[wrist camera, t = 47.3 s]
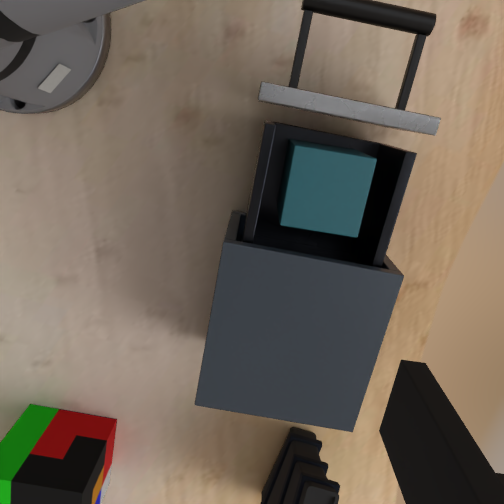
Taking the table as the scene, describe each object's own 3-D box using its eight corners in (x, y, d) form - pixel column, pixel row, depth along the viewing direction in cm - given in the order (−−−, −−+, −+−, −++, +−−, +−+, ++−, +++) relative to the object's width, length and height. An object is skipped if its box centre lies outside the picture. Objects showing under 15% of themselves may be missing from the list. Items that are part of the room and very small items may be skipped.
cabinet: (232, 210, 41) (223, 241, 31) (371, 236, 42) (404, 275, 32) (208, 342, 46) (194, 405, 36) (333, 364, 46) (352, 432, 37)
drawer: (276, 2, 35) (281, -29, 27) (426, 34, 35) (474, 13, 27) (233, 235, 41) (227, 266, 33) (361, 259, 42) (384, 295, 34)
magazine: (249, 522, 52) (268, 613, 37) (280, 414, 54) (311, 460, 39) (278, 530, 52) (309, 624, 37) (308, 422, 54) (349, 471, 39)
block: (276, 205, 39) (279, 225, 32) (288, 138, 37) (294, 145, 30) (341, 215, 39) (357, 238, 32) (356, 149, 37) (377, 158, 30)
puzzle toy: (109, 484, 53) (75, 567, 43) (27, 470, 52) (-25, 551, 43) (116, 419, 49) (82, 493, 40) (30, 403, 49) (-26, 475, 39)
